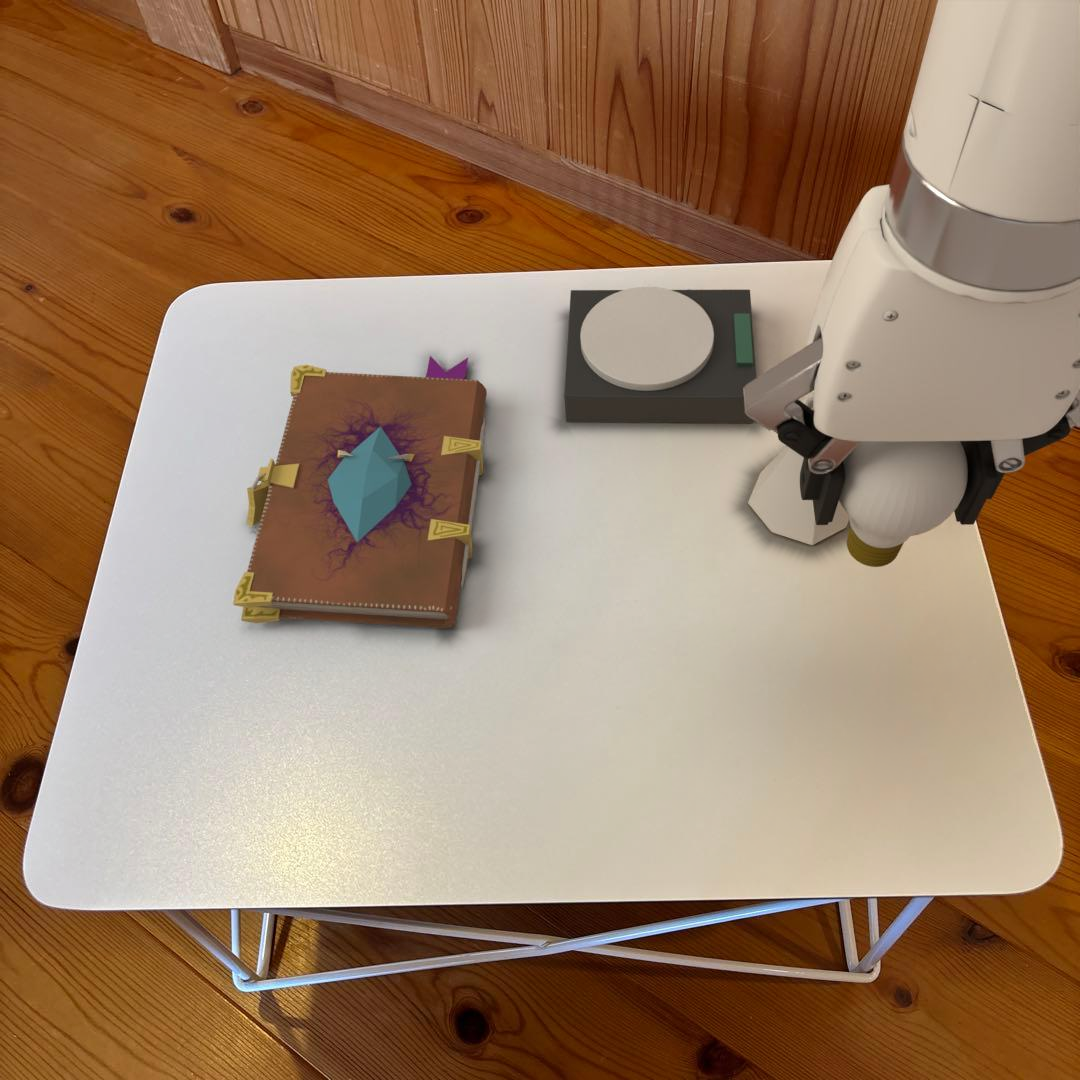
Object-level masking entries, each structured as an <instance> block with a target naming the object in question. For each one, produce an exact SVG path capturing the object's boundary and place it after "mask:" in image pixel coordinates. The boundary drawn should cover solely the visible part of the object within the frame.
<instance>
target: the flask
mask: <svg viewBox="0 0 1080 1080" xmlns="http://www.w3.org/2000/svg"><path fill="white" fill-rule="evenodd" d="M813 397H814V393H812V394H810V395H808V396H806V397H804V399H803V401H802V403H804V404H805V405H807V406H808V407H809V408H812V407H813ZM803 459H804V457H802V456H801V455H799V454H798V453H796V452H795V451H794V450H792V449H791V448H789V447H788V446H786V445H785V447H784V448H783V449H782V450H781V451H780V452H779V453H778V454H777V455H776V456H775V457H774V458H773V459H772V460H771V461H770V462H769V463H768V464H767V465H766V466H765V467H764V468H763V469H762V471H760V473H759V476H758V478H757V480H756V483H755V485H754V487H753V490H752V492H751V495H750V496H749V499H748V502H747V504H748V505H749V506H750V507H751V509H752V510H753V511H754V513H755V514H756V515H757V516H758V517H759V519H760V520H761V521H762V522H763V524H765V526H766V527H767V528H768V529H769V531H770V532H771V533H773V534H776V535H779V536H783V537H784V538H785V537H786V538H789V539H792V540H794V541H797V542H801V543H804V544H806V545H807V544H808V545H810V546H814V545H815V544H817V543H819V542H821V541H823V540H826V539H827V538H829V537H831V536H833V535H834V534H836V533H838V532H840V531H842V530H844V529H846V528H847V527H848V524H849V522H850V521H849V515H848V514H847V512H846V511H845V510H844V508H843V506H842V505H841V503H840V501H839V502H838V505H837V508H836V511H835V514H834V518H833V521H832V522H829V523H828V525H816V522H815V515H814V507H813V500H802V498H801V492H800V472H801V467H802V463H803Z"/></svg>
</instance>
